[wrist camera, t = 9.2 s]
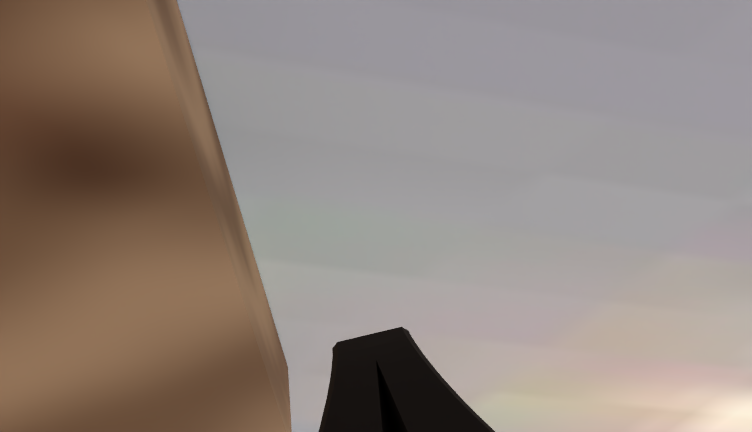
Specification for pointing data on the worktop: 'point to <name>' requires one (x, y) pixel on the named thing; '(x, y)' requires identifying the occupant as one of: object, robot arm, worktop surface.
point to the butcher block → (123, 234)
